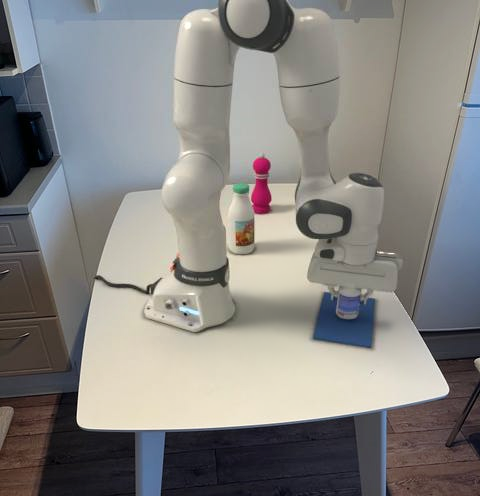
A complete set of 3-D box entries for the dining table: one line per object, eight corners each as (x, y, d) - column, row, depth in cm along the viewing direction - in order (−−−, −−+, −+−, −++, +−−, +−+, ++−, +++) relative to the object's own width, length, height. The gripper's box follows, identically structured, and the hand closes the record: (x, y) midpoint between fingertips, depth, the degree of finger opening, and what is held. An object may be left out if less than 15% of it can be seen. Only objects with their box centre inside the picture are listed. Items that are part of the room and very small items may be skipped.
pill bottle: (361, 318, 116) (367, 283, 110) (340, 321, 115) (344, 286, 110) (353, 305, 120) (358, 271, 115) (332, 308, 120) (336, 274, 114)
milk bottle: (226, 253, 147) (224, 189, 135) (232, 242, 153) (231, 179, 141) (251, 256, 145) (251, 191, 133) (256, 244, 151) (257, 181, 140)
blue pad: (313, 339, 112) (313, 337, 112) (324, 293, 128) (324, 291, 128) (370, 348, 110) (371, 346, 109) (374, 300, 125) (375, 298, 125)
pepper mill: (248, 207, 175) (248, 151, 163) (267, 205, 176) (268, 149, 165) (254, 215, 169) (255, 157, 157) (274, 213, 171) (276, 155, 159)
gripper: (404, 247, 108) (393, 299, 116) (312, 237, 112) (308, 288, 120) (404, 260, 103) (393, 314, 111) (308, 249, 107) (304, 302, 115)
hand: (348, 300), depth 116 cm, fingers closed on pill bottle, 5 cm apart
